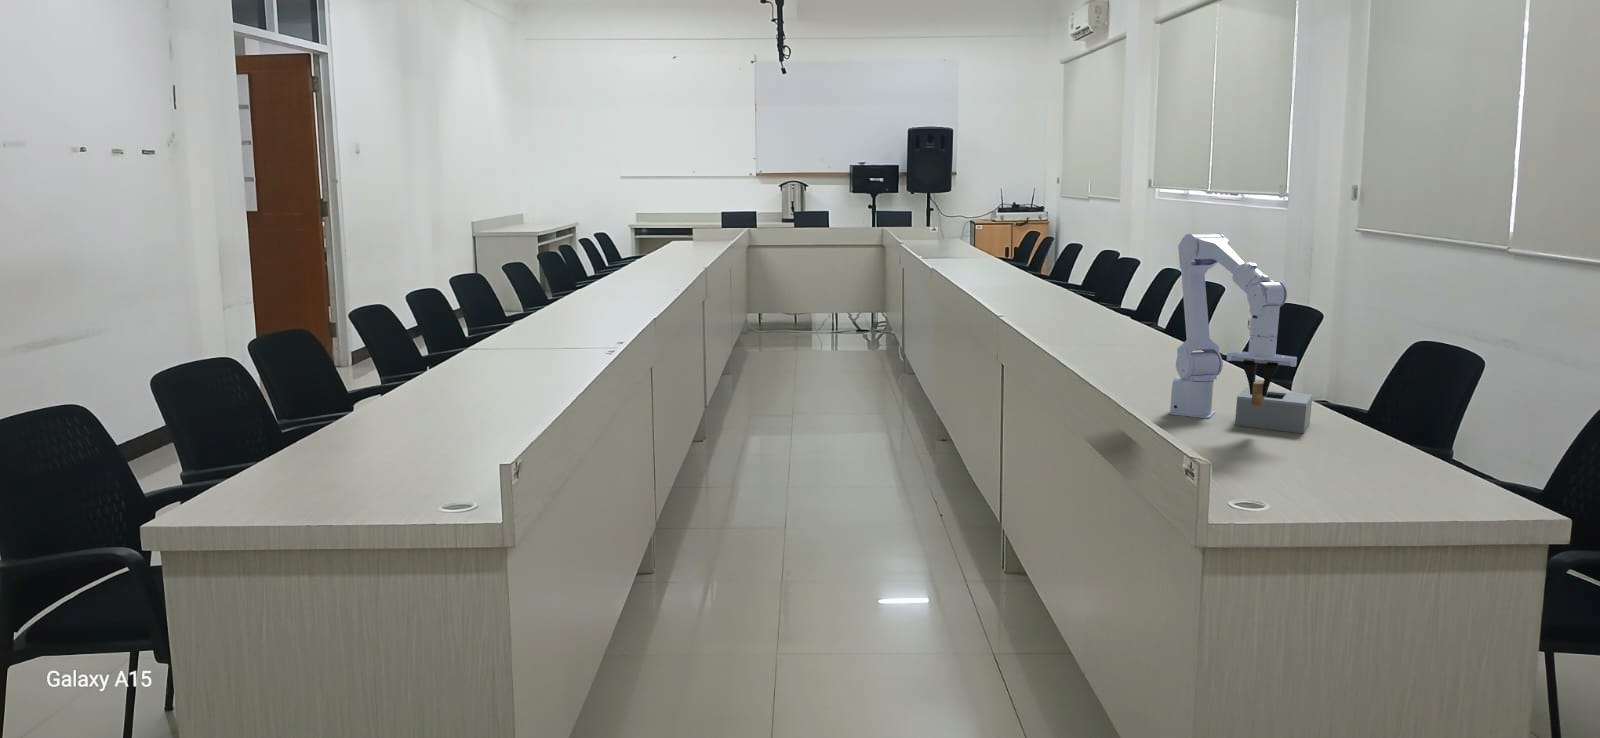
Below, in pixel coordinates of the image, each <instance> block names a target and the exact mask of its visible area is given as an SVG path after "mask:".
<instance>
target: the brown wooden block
mask: <svg viewBox="0 0 1600 738" xmlns="http://www.w3.org/2000/svg"><path fill="white" fill-rule="evenodd" d="M1263 385H1264V379H1263V380H1262V379H1255V382H1254V383H1253V391H1252V402H1251V405H1256V406H1261V405H1262V404H1263V403H1264V396H1262V394H1263Z"/></svg>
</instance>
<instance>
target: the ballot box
mask: <svg viewBox="0 0 1600 738" xmlns="http://www.w3.org/2000/svg"><path fill="white" fill-rule="evenodd" d="M1251 402H1252V395H1250V388H1249V387H1244V389H1243V390H1242V391H1241V392H1240V393H1239V394H1238V395H1237V397H1236V409H1235V422H1234V426H1236V427H1244V428H1253V429H1263V430H1270V431H1278V432H1279V431H1280V432H1287V433H1296V434H1305V432H1306V430H1307V429H1308V428H1309V425H1310V424H1311V414H1312V413H1311V412H1312V402H1313V394H1310V393H1301V392H1293V391H1292V392H1291V391H1284V390H1283V391H1281V390H1273V389H1272V390H1271V389H1268V391H1267V395H1266V396H1264V403H1263V404H1262V405H1261V406H1256V405H1251Z"/></svg>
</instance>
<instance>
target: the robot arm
mask: <svg viewBox="0 0 1600 738" xmlns="http://www.w3.org/2000/svg"><path fill="white" fill-rule="evenodd" d="M1177 247H1178V259H1179V261H1178V262H1179V270H1180V272H1181V274H1180V275H1181V285H1182V287H1181V288H1182V295H1183V296H1182V297H1183V310H1184V311H1183V312H1184V323H1185V334H1186V340H1185V341H1184V342H1183V343H1182V344H1181V345H1179V346H1178V348H1176V352H1177V355H1176V356H1177V357H1176V361H1175V368H1176V369H1175V370H1176V371H1177V374H1178V376H1175V377H1174V378H1173V381H1172V385H1171V394H1170V406H1169V407H1170V408H1169V409H1170V410H1169V415H1173V416H1182V417H1190V418H1191V417H1192V418H1197V419H1199V418H1201V419H1208V420H1209V419H1211V418H1212V417H1213V415H1215V413H1216V411H1215V410H1212V407H1213V405H1212V404H1213V403H1212V402H1213V395H1214V394H1213V393H1214V382H1215V380H1217V377H1218V376H1219V375H1220V374H1221V373H1222V370H1223V366H1224V362H1223V357H1222V356H1221V353H1220V346H1219V345H1218V344H1217V343H1216V342H1215V341H1214V340H1212V339H1211V337H1210V326H1209V315H1208V314H1209V311H1208V303H1207V302H1208V301H1207V289H1206V277H1205V275H1206V273H1207V272H1208V271H1209V270H1210V269H1212V268H1213V267H1215V266H1216V265H1217V264H1220V265H1221V266H1222V267H1224V268H1225V269H1226V270H1227V271H1229V272H1230V273H1231V274H1232V282H1233V283H1235V284H1236V285H1237V286H1238V288H1239V289H1240V290H1242V291H1243V292H1244V293H1245V294H1246V298H1247V303H1248V305H1249V314H1250V316H1251V319H1250V330H1249V342H1248V351H1232V350H1229V351H1227V353H1226V361H1229V362H1231V361H1235V362H1236V361H1237V362H1243V364H1242V369H1243V370H1244V373H1245V376H1246V378H1247V381H1248V388H1250V395H1252V391H1253V383H1254V382H1255V381H1256V377H1257V368H1258V364H1265V365H1264V374H1263V375H1264V376H1263V377H1264V379H1263V380H1264V385H1263V394H1262V396H1266V395H1267V391H1268V390H1269V386H1270V384H1271V382H1272V379H1273V377H1274V376H1275V374H1276V373H1277V370H1278V368H1279V367H1280V366H1288V367H1289V366H1290V367H1292V368H1294V367H1295V368H1296V366H1297V364H1298V363H1297V361H1298V357H1297V356H1291V355H1283V354H1278V353H1277V354H1276V352H1277V344H1278V343H1277V341H1278V331H1279V321H1280V320H1279V319H1280V308H1281V307H1282V306H1283V305H1284V304H1285V303H1286V302H1287V297H1288V292H1287V291H1288V290H1287V288H1286V286H1285V285H1284V283H1283V282H1282V281H1281V280H1272V279H1270V278H1269V275H1267V274H1265V273H1264V272H1263V271H1261V269H1259V268H1258V265H1257V264H1256V263H1255V262H1244V261H1243V260H1242V258H1240V256H1239V255H1238V254H1237V253H1236V252H1235V251H1234V250H1233V248H1232V247H1231V246H1230V240H1229V238H1227V237H1226V236H1225V235H1224V234H1223V233H1207V234H1206V233H1205V234H1204V233H1202V234H1201V233H1199V234H1198V233H1196V234H1194V233H1187V234H1185V235H1184V236H1183V237H1182V238H1181V240H1180V242H1179V244H1178V246H1177ZM1194 351H1195V352H1194Z"/></svg>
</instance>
